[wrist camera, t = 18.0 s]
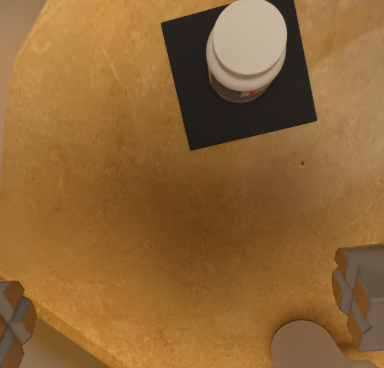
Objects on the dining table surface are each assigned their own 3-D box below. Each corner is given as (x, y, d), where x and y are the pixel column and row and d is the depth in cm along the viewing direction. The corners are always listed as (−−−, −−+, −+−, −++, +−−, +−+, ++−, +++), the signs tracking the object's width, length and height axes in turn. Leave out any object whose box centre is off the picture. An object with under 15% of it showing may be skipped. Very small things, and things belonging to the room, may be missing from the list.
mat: (190, 150, 32) (190, 150, 32) (161, 24, 31) (160, 22, 31) (316, 121, 31) (317, 120, 31) (290, -12, 30) (291, -14, 30)
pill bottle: (281, 86, 31) (311, 58, 21) (225, 114, 31) (228, 100, 22) (254, 28, 30) (272, -29, 21) (198, 58, 31) (188, 17, 21)
